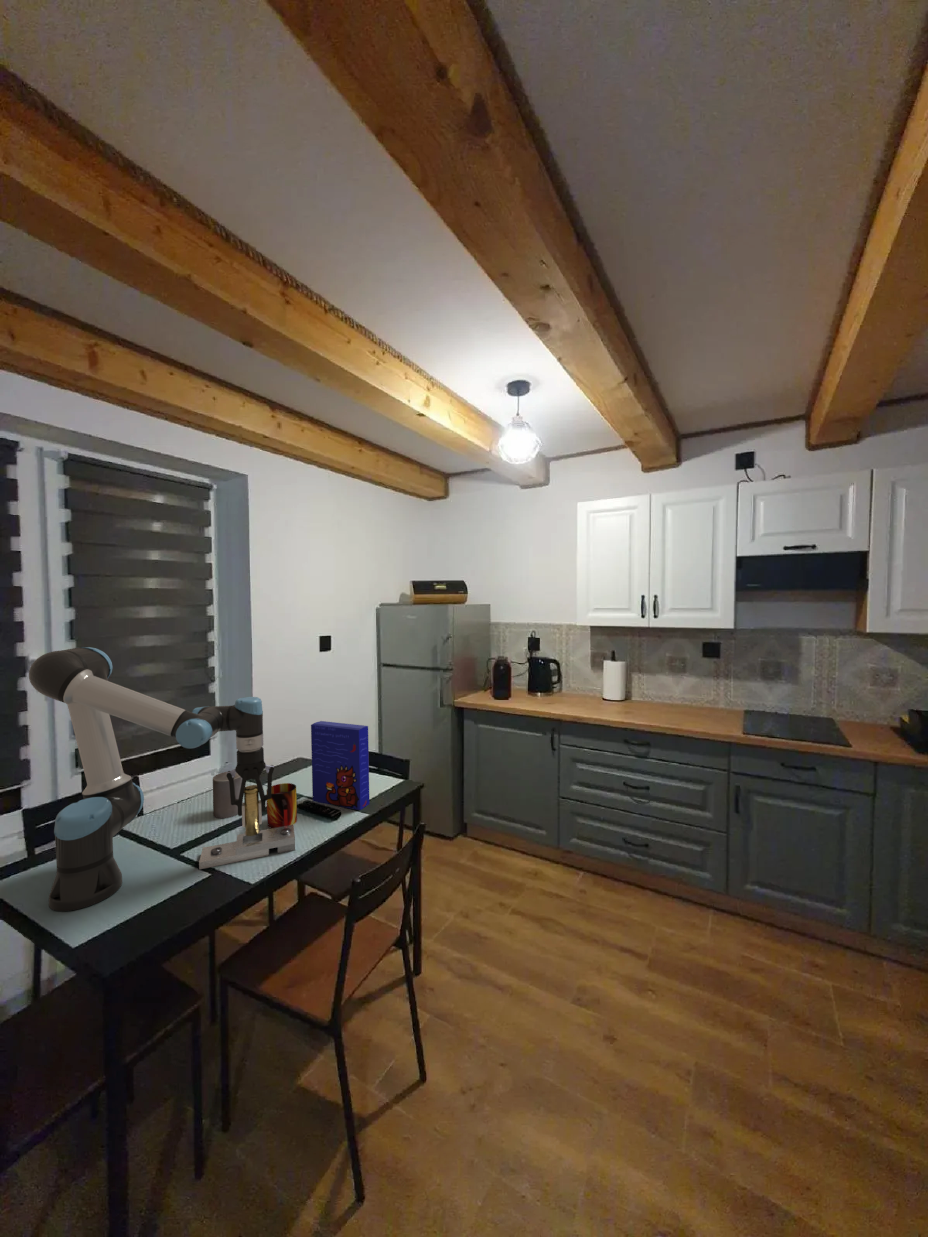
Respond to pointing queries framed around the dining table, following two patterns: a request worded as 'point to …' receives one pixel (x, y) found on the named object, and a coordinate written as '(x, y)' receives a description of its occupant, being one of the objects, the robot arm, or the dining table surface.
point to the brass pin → (251, 810)
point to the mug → (282, 806)
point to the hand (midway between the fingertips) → (252, 823)
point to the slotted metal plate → (249, 847)
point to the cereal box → (340, 764)
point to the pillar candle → (224, 796)
